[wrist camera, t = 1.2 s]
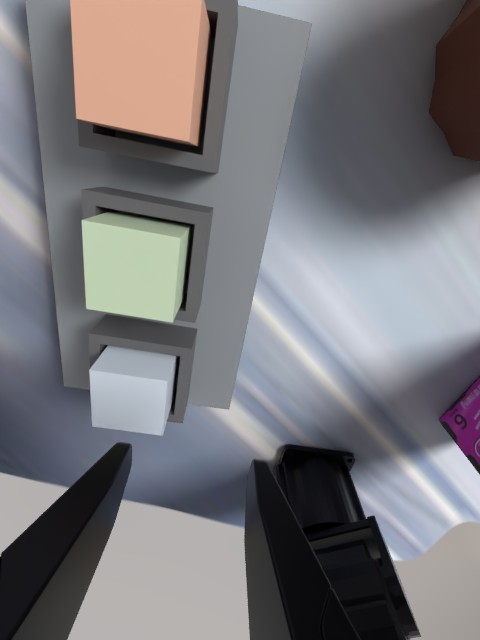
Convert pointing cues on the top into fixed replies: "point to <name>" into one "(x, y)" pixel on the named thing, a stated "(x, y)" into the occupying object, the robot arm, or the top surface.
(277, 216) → the top surface
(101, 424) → the slate button
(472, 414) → the candy bar box
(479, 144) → the muffin
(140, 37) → the terracotta button
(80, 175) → the button panel
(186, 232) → the sage button
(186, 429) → the top surface
